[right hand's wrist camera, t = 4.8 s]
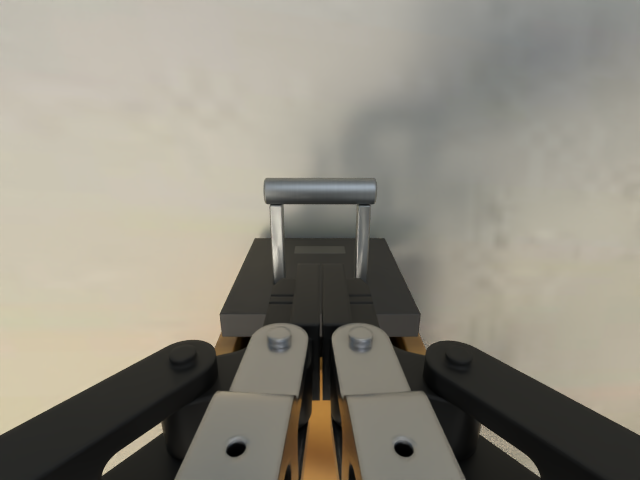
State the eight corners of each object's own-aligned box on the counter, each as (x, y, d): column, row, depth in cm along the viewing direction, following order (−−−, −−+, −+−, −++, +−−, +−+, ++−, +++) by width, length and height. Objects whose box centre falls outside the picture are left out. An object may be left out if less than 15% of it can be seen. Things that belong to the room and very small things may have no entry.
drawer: (249, 157, 23) (206, 193, 14) (390, 158, 23) (434, 194, 14) (266, 428, 31) (245, 560, 22) (372, 428, 31) (393, 560, 22)
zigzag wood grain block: (250, 262, 27) (204, 370, 16) (388, 262, 27) (435, 370, 16) (263, 449, 33) (236, 616, 22) (375, 448, 33) (402, 615, 22)
